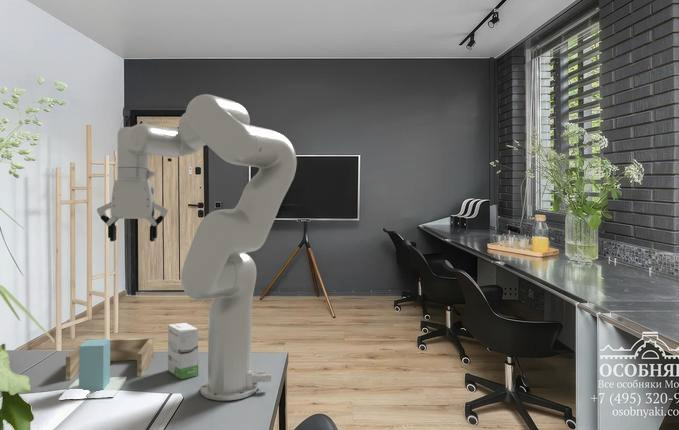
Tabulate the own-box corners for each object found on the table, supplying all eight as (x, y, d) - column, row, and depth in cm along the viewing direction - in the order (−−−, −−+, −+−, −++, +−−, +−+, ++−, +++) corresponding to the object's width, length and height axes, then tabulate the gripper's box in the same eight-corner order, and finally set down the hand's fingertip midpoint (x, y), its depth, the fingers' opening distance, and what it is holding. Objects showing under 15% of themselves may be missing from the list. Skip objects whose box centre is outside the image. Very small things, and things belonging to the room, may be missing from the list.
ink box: (199, 375, 116) (199, 328, 116) (179, 380, 113) (179, 331, 113) (185, 366, 123) (186, 321, 123) (166, 370, 120) (167, 323, 120)
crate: (153, 357, 129) (153, 337, 129) (141, 376, 115) (141, 353, 115) (86, 360, 126) (86, 340, 126) (65, 379, 112) (65, 356, 112)
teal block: (109, 381, 110) (110, 339, 110) (103, 390, 105) (103, 345, 105) (86, 383, 109) (86, 339, 109) (78, 391, 104) (79, 346, 104)
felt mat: (126, 379, 113) (126, 376, 113) (113, 397, 103) (113, 394, 103) (77, 381, 111) (77, 379, 111) (58, 400, 101) (58, 397, 101)
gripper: (170, 177, 129) (169, 240, 129) (102, 175, 126) (101, 239, 126) (165, 175, 121) (164, 242, 122) (92, 173, 118) (92, 242, 119)
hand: (132, 240), depth 124 cm, fingers open, 9 cm apart
